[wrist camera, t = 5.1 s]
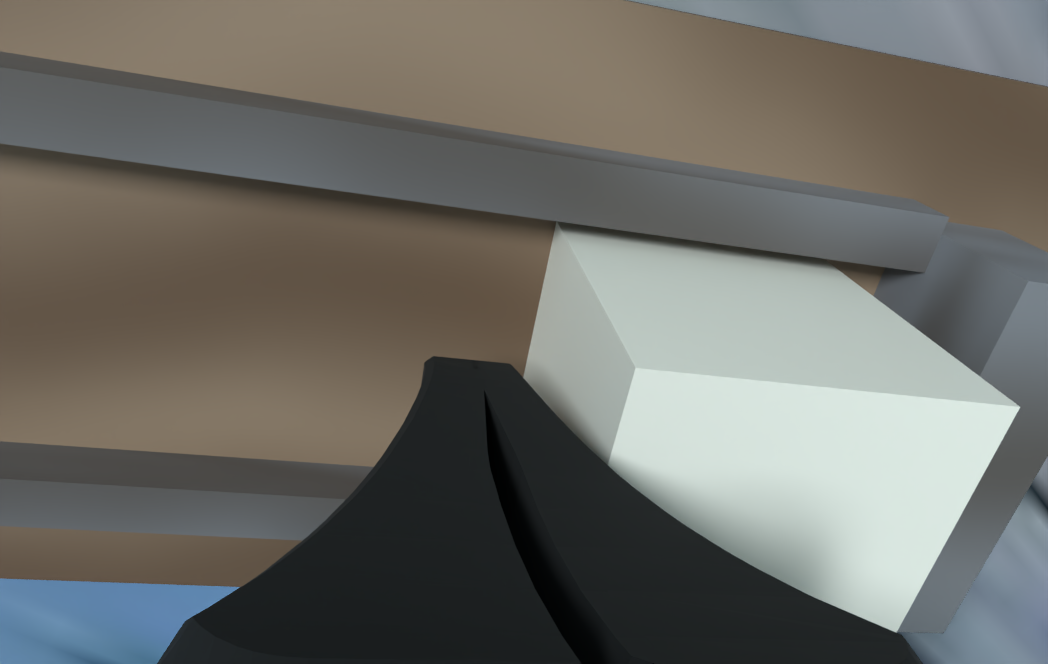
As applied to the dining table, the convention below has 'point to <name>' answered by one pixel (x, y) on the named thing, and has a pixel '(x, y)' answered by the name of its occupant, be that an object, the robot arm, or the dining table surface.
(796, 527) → the pale grey cube
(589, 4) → the rail board
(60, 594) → the dining table surface
